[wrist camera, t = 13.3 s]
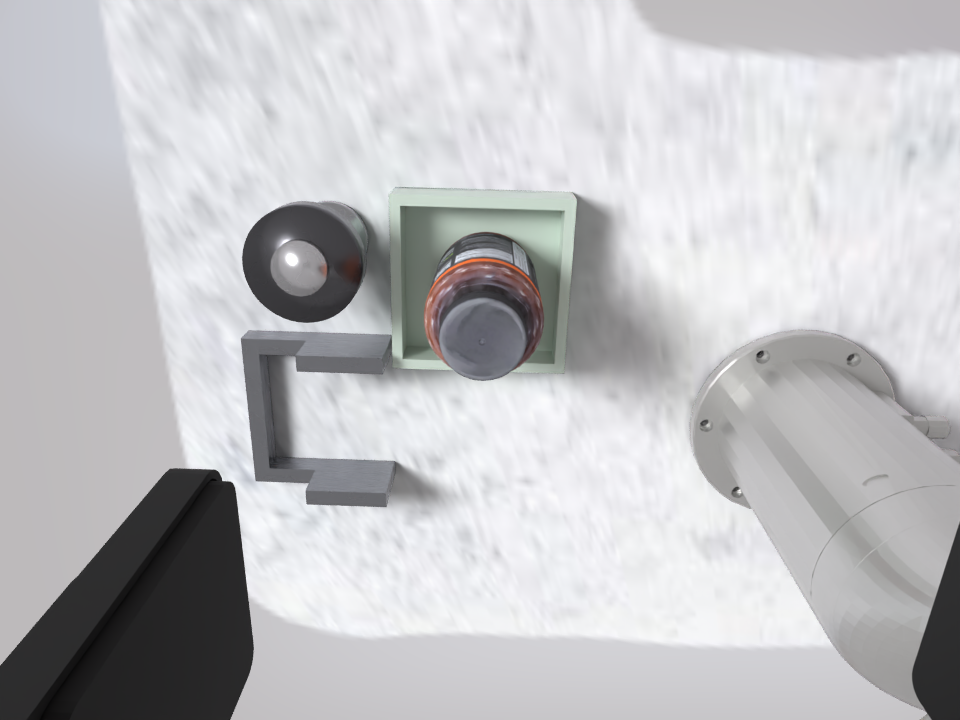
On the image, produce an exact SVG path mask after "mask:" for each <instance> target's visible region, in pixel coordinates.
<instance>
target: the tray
mask: <svg viewBox="0 0 960 720" xmlns="http://www.w3.org/2000/svg"><path fill="white" fill-rule="evenodd" d="M576 206H577V199H576V198H575V196H574V194H573V193H572V192H549V191H515V190H480V189H446V188H411V187H395V188H394V189H393V190H392V191H391V192H390V194H389V226H390V273H391V320H392V366H393V368H400V369H431V370H453V369H452V368H450V367H449V366H447V365H446V364H445V363H444V362H443V361H442V360H441V359H440V358H439V357H438V356H437V355H436V354H435V352H434V351H433V349H432V347H431V346H430V344H429V341H428V339H427V336H426V332H425V327H424V309H425V304H426V301H427V297H428V294H429V291H430V287H431V285H432V281H433V278H434V276H435V273H436V270H437V266H438V264H439V262H440V260H441V258H442V256H443V255H444V254H445V252H446V251H447V250H448V248H449V247H450V246H451V245H452V244H454V243H455V242H456V241H458V240H459V239H461V238H462V237H464V236H467V235H470V234H473V233H478V232H494V233H499V234H502V235H505V236H507V237H509V238H511V239H512V240H514V241H515V242H517V243H518V244H519V245H520V246H521V247H522V248H523V249H524V250H525V251H526V253H527V254H528V256H529V257H530V259H531V261H532V263H533V264H534V268H535V273H536V278H537V282H538V286H539V291H540V295H541V301H542V306H543V312H544V328H543V333H542V337H541V339H540V343H539V345H538V346H537V348H536V350H535V352H534V353H533V354H532V355H531V356H530V358H529V359H528V360H527V361H526V362H525V363H523V364H522V365H521V366H520V367H518V368H516V369H515V370H513V371H511V372H523V373H554V374H564V368H565V355H566V341H567V328H568V314H569V301H570V287H571V274H572V260H573V247H574V233H575V220H576Z"/></svg>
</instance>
